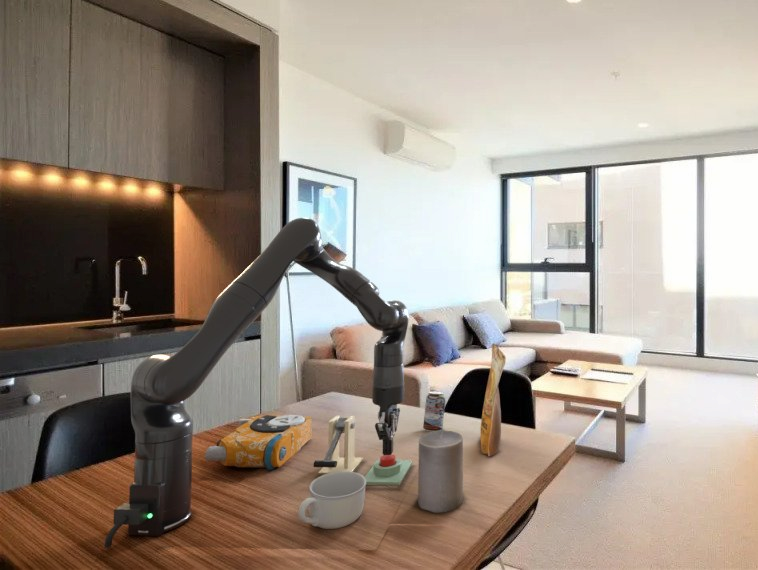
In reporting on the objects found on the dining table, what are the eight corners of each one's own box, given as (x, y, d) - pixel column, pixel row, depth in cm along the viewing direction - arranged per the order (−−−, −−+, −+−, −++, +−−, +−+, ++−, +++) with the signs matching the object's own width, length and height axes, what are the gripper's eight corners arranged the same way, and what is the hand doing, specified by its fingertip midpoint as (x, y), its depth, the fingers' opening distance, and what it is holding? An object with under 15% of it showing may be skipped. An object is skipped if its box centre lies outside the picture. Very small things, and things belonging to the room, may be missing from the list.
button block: (399, 489, 104) (399, 474, 105) (360, 489, 105) (360, 473, 105) (412, 466, 116) (412, 453, 117) (377, 466, 117) (377, 452, 117)
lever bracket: (350, 477, 110) (351, 424, 111) (317, 477, 111) (318, 424, 111) (363, 462, 119) (364, 412, 120) (333, 461, 120) (334, 412, 120)
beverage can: (419, 433, 140) (419, 394, 140) (430, 425, 147) (430, 388, 147) (438, 435, 138) (438, 396, 138) (448, 427, 145) (448, 389, 145)
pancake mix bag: (502, 432, 141) (502, 342, 142) (505, 458, 122) (506, 353, 123) (480, 433, 140) (480, 342, 141) (480, 459, 121) (481, 353, 122)
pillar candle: (457, 488, 105) (458, 422, 106) (466, 509, 96) (467, 437, 96) (415, 494, 102) (416, 427, 103) (420, 517, 93) (421, 442, 94)
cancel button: (392, 467, 109) (392, 460, 109) (378, 467, 109) (378, 460, 109) (397, 461, 112) (397, 454, 112) (382, 461, 113) (382, 453, 113)
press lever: (335, 470, 106) (333, 463, 104) (314, 469, 106) (312, 463, 105) (354, 424, 117) (352, 417, 116) (335, 424, 117) (333, 417, 116)
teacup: (347, 502, 99) (348, 465, 99) (376, 520, 92) (377, 480, 92) (281, 531, 88) (282, 489, 88) (309, 554, 81) (309, 508, 81)
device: (184, 442, 111) (252, 405, 141) (183, 477, 111) (252, 432, 141) (277, 442, 111) (326, 405, 141) (277, 476, 111) (325, 432, 141)
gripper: (381, 376, 118) (381, 443, 118) (363, 389, 105) (363, 465, 104) (410, 376, 118) (409, 443, 117) (396, 390, 105) (395, 466, 104)
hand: (387, 453), depth 111 cm, fingers closed
